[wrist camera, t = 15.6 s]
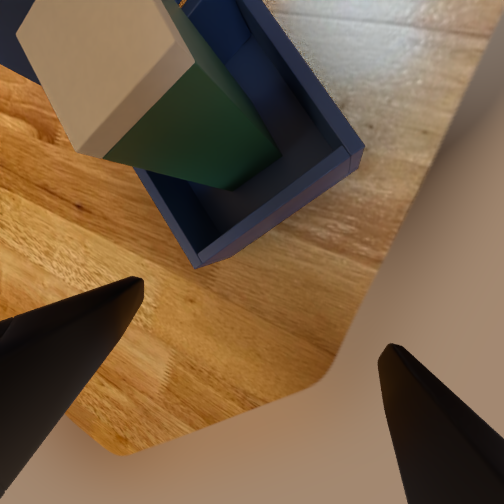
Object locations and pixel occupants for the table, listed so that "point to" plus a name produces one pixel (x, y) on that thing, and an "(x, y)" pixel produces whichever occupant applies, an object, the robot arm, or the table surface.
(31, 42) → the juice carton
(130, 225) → the table surface
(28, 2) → the lid
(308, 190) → the dark blue open container
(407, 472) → the robot arm
